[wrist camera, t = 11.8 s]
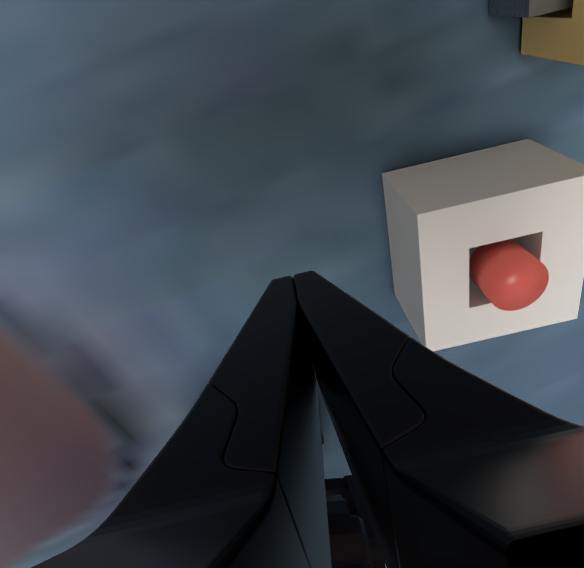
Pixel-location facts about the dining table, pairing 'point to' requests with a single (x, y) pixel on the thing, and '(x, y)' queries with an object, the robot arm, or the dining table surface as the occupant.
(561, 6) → the rail
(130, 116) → the dining table surface
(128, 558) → the robot arm
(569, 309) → the white button housing
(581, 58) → the block
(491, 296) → the button
